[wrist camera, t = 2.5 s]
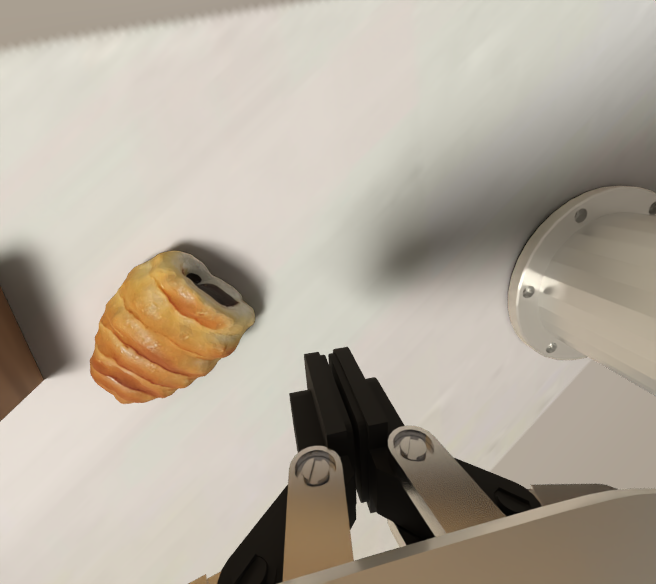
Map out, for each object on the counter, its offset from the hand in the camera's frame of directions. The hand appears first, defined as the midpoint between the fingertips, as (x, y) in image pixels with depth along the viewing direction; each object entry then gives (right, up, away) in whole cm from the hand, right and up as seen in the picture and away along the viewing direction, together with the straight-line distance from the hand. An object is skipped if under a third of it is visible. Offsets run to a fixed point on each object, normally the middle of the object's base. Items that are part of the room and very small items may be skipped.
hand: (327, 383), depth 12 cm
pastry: (-9, +2, +7) cm, 12 cm away
